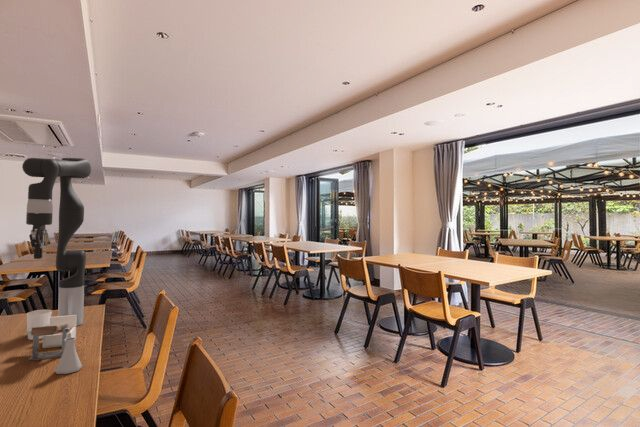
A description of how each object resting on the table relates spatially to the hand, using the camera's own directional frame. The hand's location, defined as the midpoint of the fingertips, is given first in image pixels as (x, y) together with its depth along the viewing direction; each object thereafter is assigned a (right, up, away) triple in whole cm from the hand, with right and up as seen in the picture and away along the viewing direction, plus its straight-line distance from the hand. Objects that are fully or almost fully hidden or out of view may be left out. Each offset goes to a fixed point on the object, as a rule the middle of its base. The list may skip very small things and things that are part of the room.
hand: (38, 258), depth 129 cm
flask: (+24, -34, -17) cm, 45 cm away
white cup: (-8, -33, +11) cm, 36 cm away
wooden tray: (+8, -25, -8) cm, 28 cm away
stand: (+10, -33, -7) cm, 35 cm away
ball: (+3, -31, +7) cm, 32 cm away
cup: (+4, -33, +5) cm, 34 cm away
